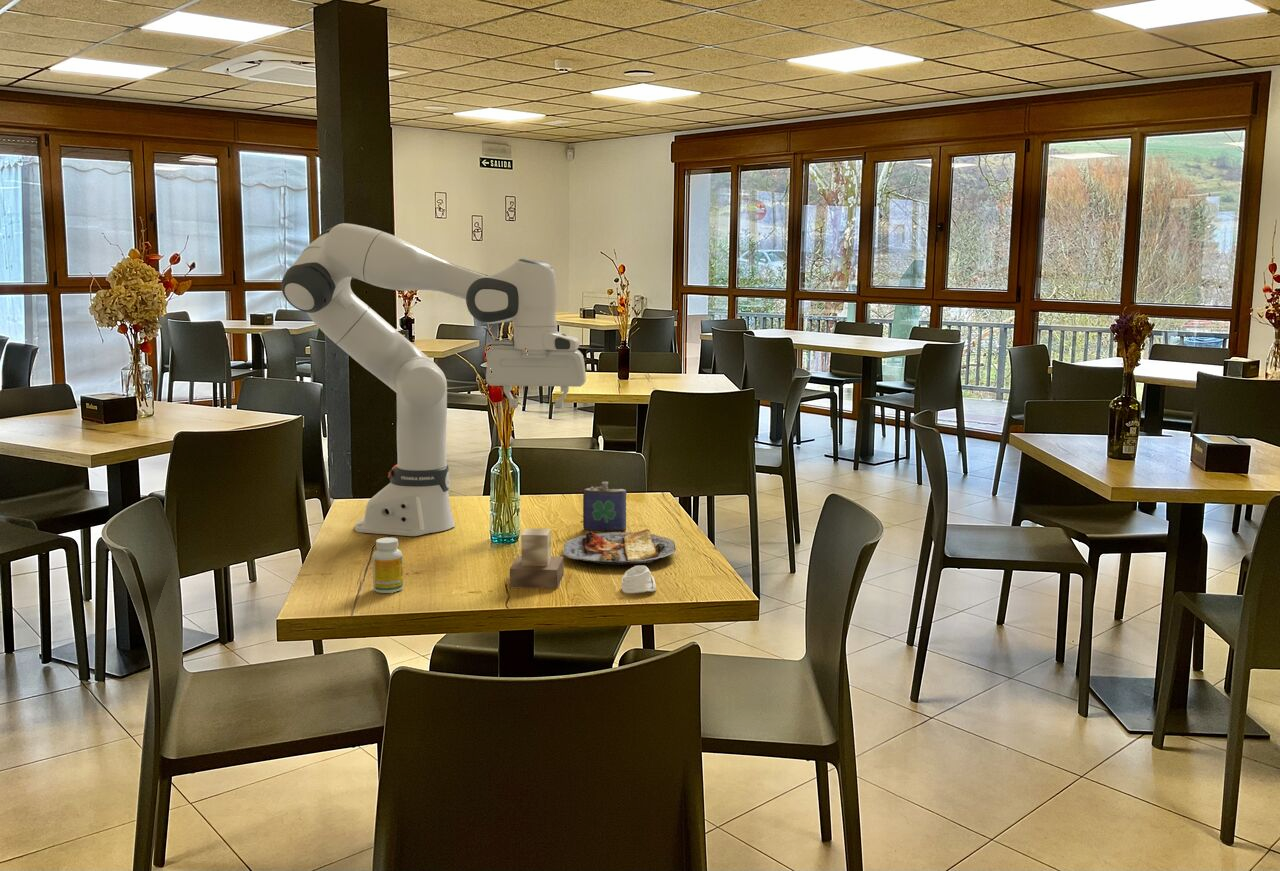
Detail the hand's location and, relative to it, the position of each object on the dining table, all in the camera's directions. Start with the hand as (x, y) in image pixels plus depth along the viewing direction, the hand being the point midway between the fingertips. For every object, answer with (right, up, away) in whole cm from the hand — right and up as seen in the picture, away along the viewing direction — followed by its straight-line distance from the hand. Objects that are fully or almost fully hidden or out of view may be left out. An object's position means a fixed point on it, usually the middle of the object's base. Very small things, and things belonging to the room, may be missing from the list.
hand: (536, 407), depth 218 cm
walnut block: (+1, -34, -13) cm, 36 cm away
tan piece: (+1, -30, -13) cm, 33 cm away
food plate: (+17, -31, +6) cm, 36 cm away
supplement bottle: (-26, -35, -19) cm, 47 cm away
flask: (+13, -28, +26) cm, 40 cm away
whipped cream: (+21, -35, -18) cm, 45 cm away
